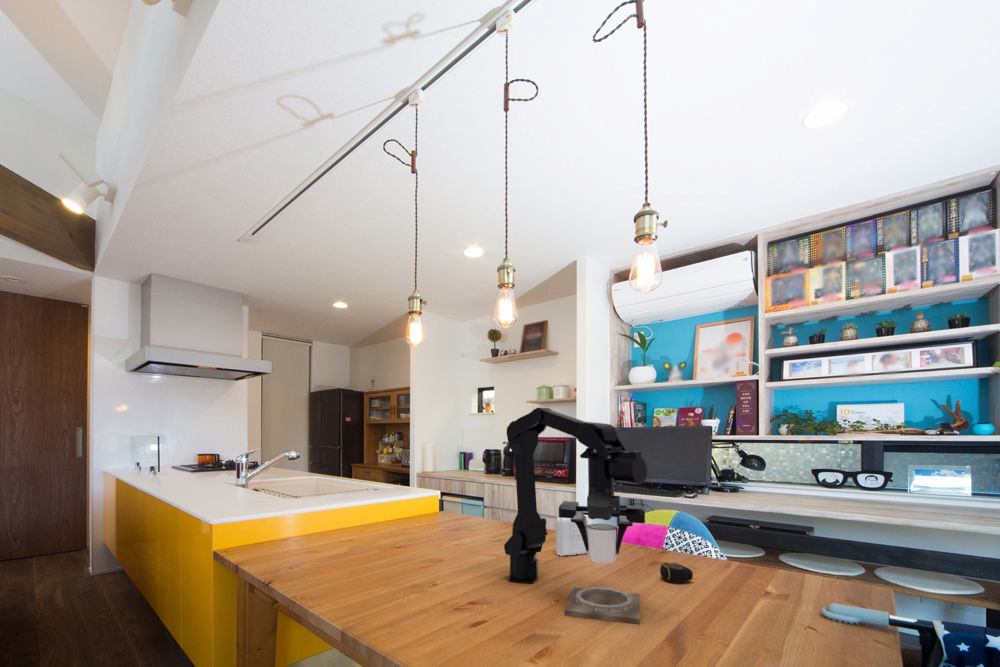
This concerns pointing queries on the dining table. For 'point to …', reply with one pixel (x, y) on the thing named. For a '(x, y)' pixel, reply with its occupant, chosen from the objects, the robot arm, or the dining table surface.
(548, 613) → the dining table surface
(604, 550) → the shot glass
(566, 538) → the white rounded block
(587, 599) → the ring holder
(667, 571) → the tape measure
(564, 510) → the robot arm
